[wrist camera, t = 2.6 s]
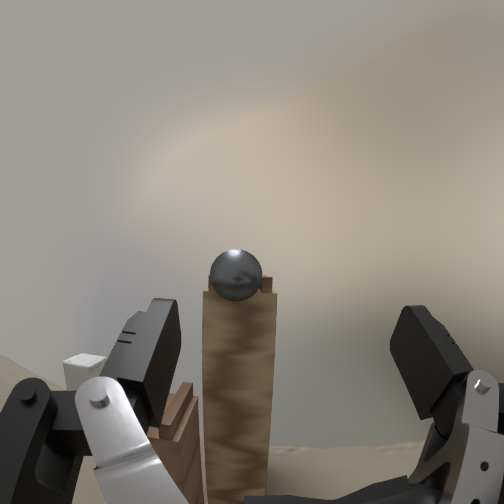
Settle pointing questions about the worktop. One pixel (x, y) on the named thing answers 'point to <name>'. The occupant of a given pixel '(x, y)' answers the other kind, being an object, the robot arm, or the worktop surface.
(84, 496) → the worktop surface
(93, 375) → the skincare box
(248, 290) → the pin
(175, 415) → the tall wooden post
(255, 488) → the stand
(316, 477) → the worktop surface
